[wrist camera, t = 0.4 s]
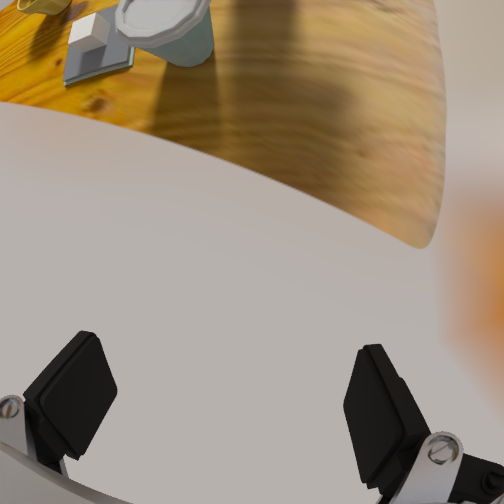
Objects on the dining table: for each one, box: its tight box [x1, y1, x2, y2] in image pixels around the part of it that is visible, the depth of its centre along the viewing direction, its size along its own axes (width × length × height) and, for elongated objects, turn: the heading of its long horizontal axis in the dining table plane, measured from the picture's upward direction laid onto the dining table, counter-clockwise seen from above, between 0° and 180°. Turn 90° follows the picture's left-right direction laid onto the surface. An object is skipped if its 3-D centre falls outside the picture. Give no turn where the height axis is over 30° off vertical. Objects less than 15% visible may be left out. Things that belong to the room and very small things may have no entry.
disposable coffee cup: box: [115, 0, 215, 67], centre depth 23 cm, size 11×11×15 cm
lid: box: [63, 5, 131, 82], centre depth 26 cm, size 13×13×6 cm
